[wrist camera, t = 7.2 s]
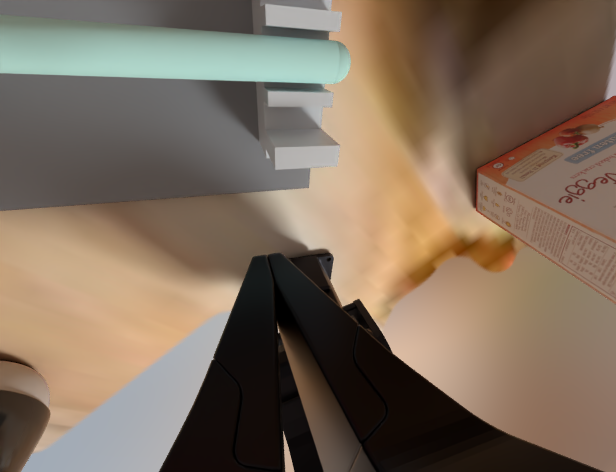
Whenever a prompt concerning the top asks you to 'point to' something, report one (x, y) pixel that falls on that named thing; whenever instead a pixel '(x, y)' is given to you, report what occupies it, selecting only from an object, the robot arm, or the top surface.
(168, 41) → the pale teal rod
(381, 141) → the top surface
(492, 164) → the cracker box
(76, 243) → the top surface
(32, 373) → the pump dispenser
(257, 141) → the board
